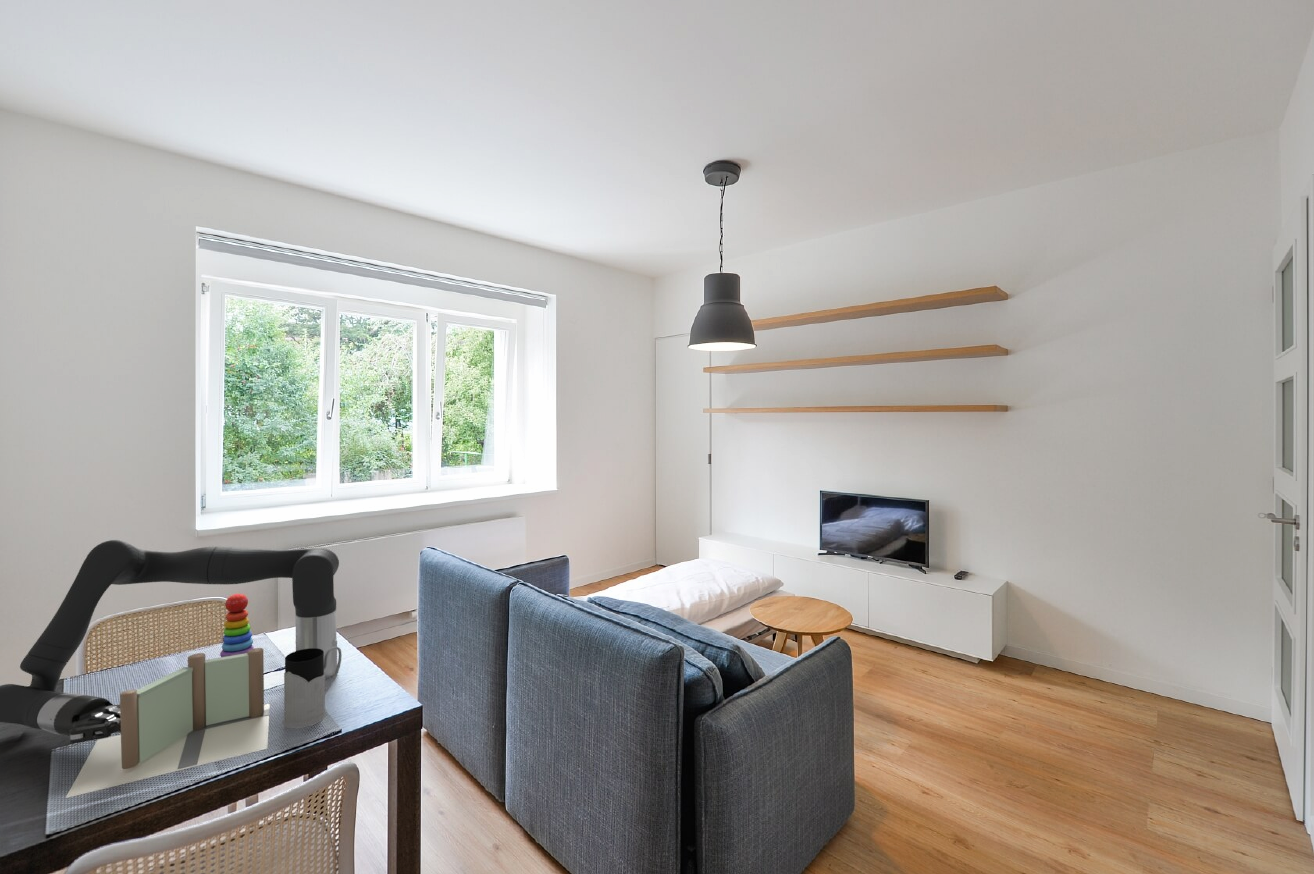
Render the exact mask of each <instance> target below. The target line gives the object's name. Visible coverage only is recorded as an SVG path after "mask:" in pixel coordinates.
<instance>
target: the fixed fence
mask: <svg viewBox="0 0 1314 874" xmlns="http://www.w3.org/2000/svg"><path fill="white" fill-rule="evenodd" d="M264 661H265V659H264V648H262V647H257V648H254V649H251V650H249V651H248V652H247V653H244V654H238V655H232V656H227V657H221V656H220V657H215V658H210V659H206V653H204V652H200V653H194V654H191V655H188V657H187V667H190V668H193V671H192V706H193V731H197V730H201V729H203V728H205V727H206V725H210V724H215V723H219V722H224V721H229V720H233V719H238V718H242V717H247V716H248V717H249V718H257V717H260V716H262V715H263V714H264V705H265V678H264V675H265V673H264V670H265V669H264V667H265V666H264V663H265V662H264Z"/></svg>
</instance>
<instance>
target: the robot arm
mask: <svg viewBox="0 0 1314 874" xmlns="http://www.w3.org/2000/svg"><path fill="white" fill-rule="evenodd" d="M339 566H340V560H339V558H338V555H337V554H336V553H335V552H334V551H332V550H330V549H329V548H328V549H327V548H324V547H310V548H300V549H298V548H296V549H294V548H293V549H272V548H271V549H269V548H268V549H267V548H258V547H257V548H255V547H238V546H237V547H235V546H207V547H206V546H203V547H198V548H192V549H187V550H182V551H169V552H167V551H157V550H147V549H141V548H137V547H136V546H135V545H132V544H131V543H128V542H127V541H124V540H120V539H110V540H106V541H103V542H101V543H99V544H97V545H96V546H95V547H93V548H92V549H91V550H90V551H89V552H88V554H87V556H86V558H85V559H84V560H83V563H82V564H81V566H80V568H79V571H78V572H77V575H76V577H75V579H74V580H73V582H72V584H71V586H70V588H69V590H68V591H67V593H66V595H65V597H64V599H63V600H62V602H61V604H60V605H59V607H58V609H57V611H56V612H55V613H54V615H53V617H52V619H51V620H50V622H49V623H48V625H47V627H46V628H45V629H44V631H42V633H41V634H40V636H39V637H38V638H37V640H36V641H35V643H33V645H32V647H31V648H30V649H29V651H28V652H27V654H26V655H25V656H24V658H23V659H22V661H21V663H20V666H19V669H20V670H21V671H23V672H24V673H26V674H29V675H31V681H30V685H29V686H27V685H21V684H14V683H5V684H1V685H0V723H4V724H6V723H7V724H15V725H16V724H17V725H21V726H25V727H29V728H32V729H36V730H41V731H46V732H48V733H51V734H56V735H61V736H66V737H69V743H70V744H72V745H73V744H78V743H84V742H89V741H95V740H96V741H97V740H99V739H104V738H109V737H112V734H118V735H119V734H121V718H120V704H113V703H112V702H111V701H109V699H108V698H105V697H99V696H95V695H88V694H82V693H69V692H63V691H57V686H58V684H59V681H60V678H61V676H62V674H63V670H64V669H65V667H66V665H67V664H68V663H69V662H70V660H71V658H72V657H73V656H74V654H75V653H76V651H77V650H78V648H79V647H80V645H81V643H82V642H83V640H84V638H85V636H86V634H87V632H88V630H89V629H88V628H89V625H90V623H91V620H92V618H93V614H94V612H95V610H96V608H97V605H98V604H99V601H101V599H102V597H103V595H104V594H105V593H106V591H107V590H108V589H109V588H110V586H111V585H114V586H115V585H117V586H120V585H123V586H124V585H134V584H145V583H146V584H147V583H181V584H194V585H195V584H196V585H239V584H246V583H247V584H248V583H253V582H259V581H263V580H268V579H269V580H270V579H278V578H279V579H280V578H281V579H282V578H283V579H288V578H289V579H291V580H292V581H291V582H292V584H291V585H292V587H291V589H292V603H293V607H294V609H295V651H298V650H302V649H308V648H318V649H322V650H323V651H324V658H325V655H326V653H327V651H328V650H329V649H330V648H332V647H338V639H337V599H336V598H335V593H334V592H335V591H334V588H335V587H334V585H335V584H334V576H335V574H336V573H337V571H338V569H339ZM337 664H338V649H337V648H335V649H333V650H331V652H330V653H329V655H328V658H327V667H326V669H325V670H324V673H325V681H326V680H328V679H330V678H333V676H334V673H335V671H336V668H337Z"/></svg>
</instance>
